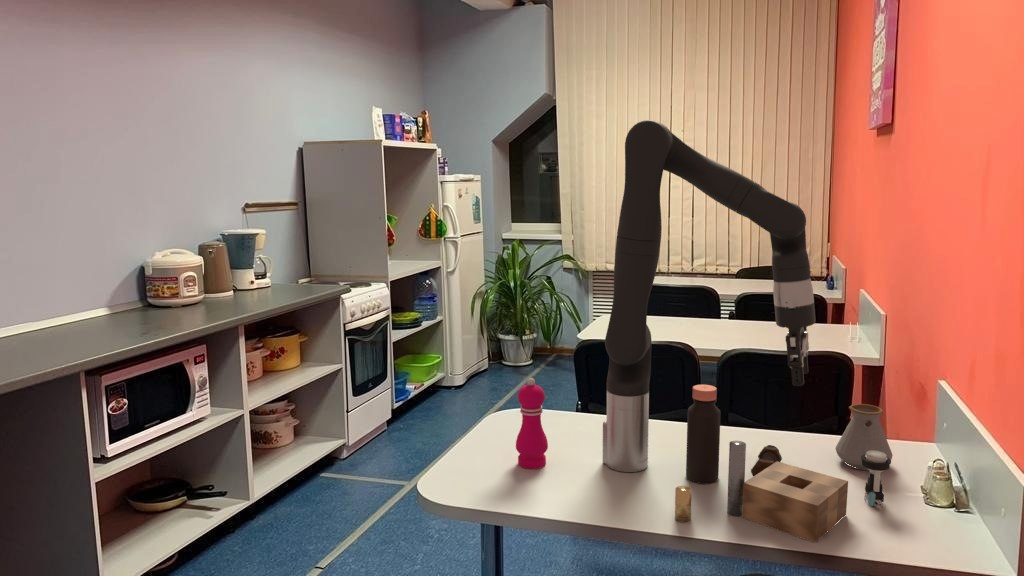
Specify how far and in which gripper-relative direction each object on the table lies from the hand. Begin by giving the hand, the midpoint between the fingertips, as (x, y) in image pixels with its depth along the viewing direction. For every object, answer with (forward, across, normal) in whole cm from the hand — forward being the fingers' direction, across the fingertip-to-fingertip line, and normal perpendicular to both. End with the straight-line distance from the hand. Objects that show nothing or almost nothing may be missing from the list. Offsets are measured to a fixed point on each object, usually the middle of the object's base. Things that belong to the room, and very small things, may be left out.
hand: (800, 379), depth 153 cm
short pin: (+20, +26, -20) cm, 38 cm away
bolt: (+22, -4, -9) cm, 24 cm away
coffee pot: (+24, -12, +10) cm, 29 cm away
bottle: (+20, +5, -21) cm, 30 cm away
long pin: (+21, +19, -12) cm, 31 cm away
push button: (+24, +3, +12) cm, 27 cm away
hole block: (+22, +16, -1) cm, 27 cm away
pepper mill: (+16, +14, -57) cm, 61 cm away
